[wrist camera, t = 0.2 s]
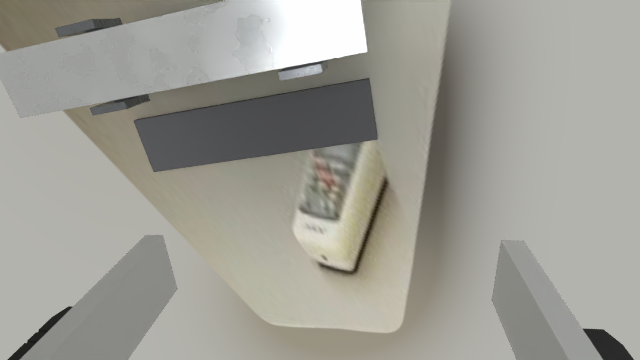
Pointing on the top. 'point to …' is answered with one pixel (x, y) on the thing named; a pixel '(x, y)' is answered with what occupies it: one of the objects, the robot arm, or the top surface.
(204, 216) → the top surface
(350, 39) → the rail
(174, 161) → the mat
